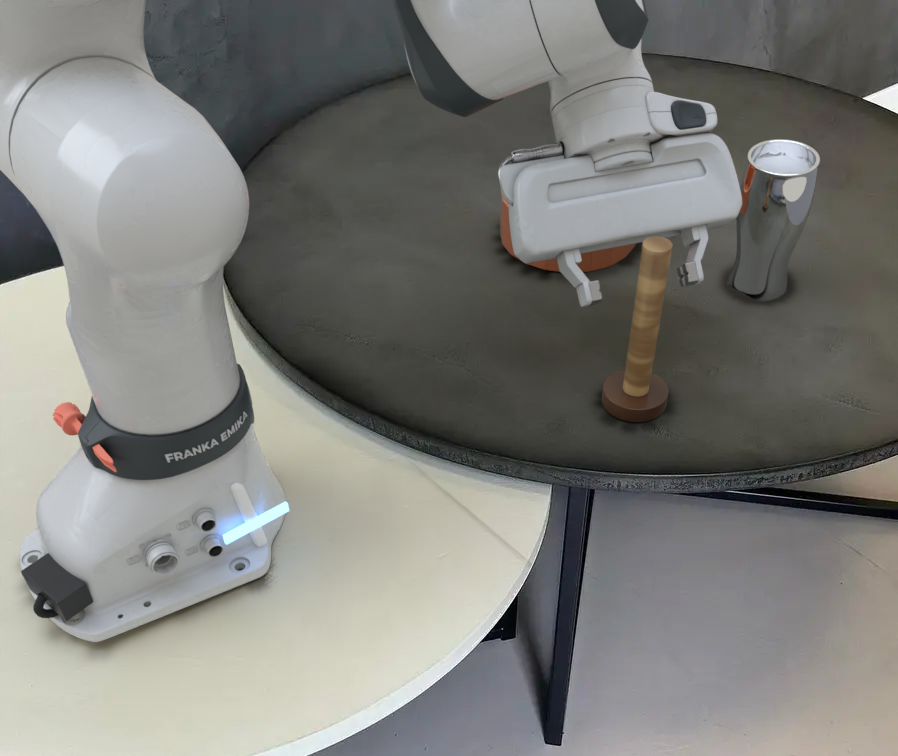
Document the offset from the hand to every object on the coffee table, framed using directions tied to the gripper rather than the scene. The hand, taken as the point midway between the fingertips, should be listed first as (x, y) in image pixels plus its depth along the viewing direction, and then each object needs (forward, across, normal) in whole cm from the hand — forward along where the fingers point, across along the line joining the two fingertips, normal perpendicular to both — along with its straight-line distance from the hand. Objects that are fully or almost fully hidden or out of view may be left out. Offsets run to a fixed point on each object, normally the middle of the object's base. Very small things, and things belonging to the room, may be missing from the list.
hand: (642, 294), depth 85 cm
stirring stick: (+9, 0, +7) cm, 11 cm away
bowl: (-11, +4, +26) cm, 29 cm away
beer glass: (0, +20, +16) cm, 25 cm away
